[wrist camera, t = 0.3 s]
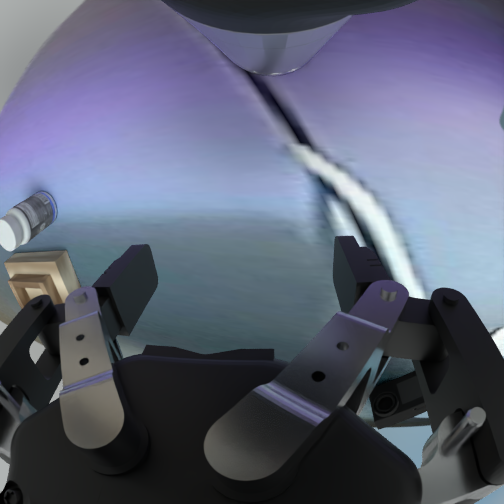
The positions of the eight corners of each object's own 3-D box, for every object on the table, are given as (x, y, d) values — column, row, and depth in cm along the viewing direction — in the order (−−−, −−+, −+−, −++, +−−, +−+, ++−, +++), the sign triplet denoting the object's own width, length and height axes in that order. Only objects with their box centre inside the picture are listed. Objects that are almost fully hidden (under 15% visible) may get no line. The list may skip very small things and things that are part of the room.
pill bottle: (43, 228, 33) (6, 258, 25) (29, 198, 30) (-12, 225, 23) (63, 216, 31) (22, 248, 24) (48, 184, 29) (4, 210, 22)
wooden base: (14, 253, 35) (-4, 269, 31) (66, 250, 34) (46, 269, 30) (44, 316, 41) (30, 334, 37) (97, 323, 40) (83, 345, 36)
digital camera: (421, 363, 41) (433, 395, 34) (423, 378, 43) (433, 408, 37) (366, 386, 44) (373, 419, 37) (371, 399, 46) (378, 430, 40)
